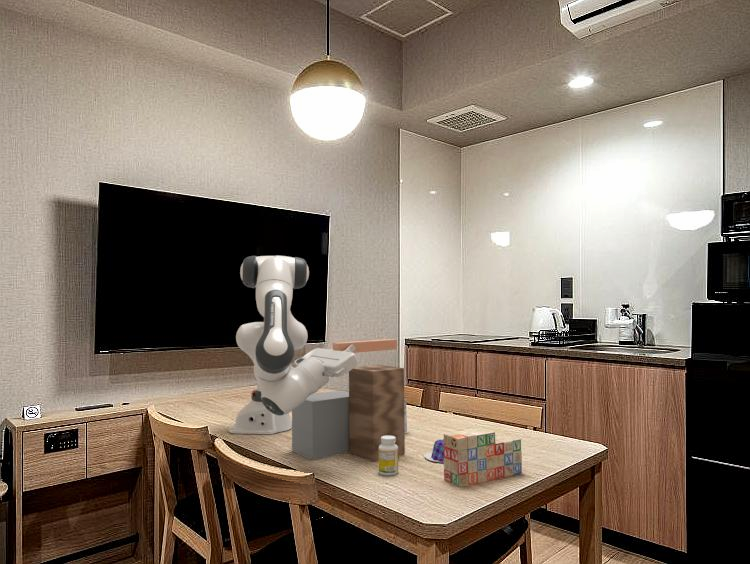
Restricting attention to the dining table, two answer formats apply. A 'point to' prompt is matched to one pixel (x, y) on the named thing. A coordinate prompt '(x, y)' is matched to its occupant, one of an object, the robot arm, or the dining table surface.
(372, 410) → the stand
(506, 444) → the stack of blocks
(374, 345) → the rail
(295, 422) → the pedestal
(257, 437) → the dining table surface
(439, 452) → the pudding
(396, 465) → the supplement bottle
